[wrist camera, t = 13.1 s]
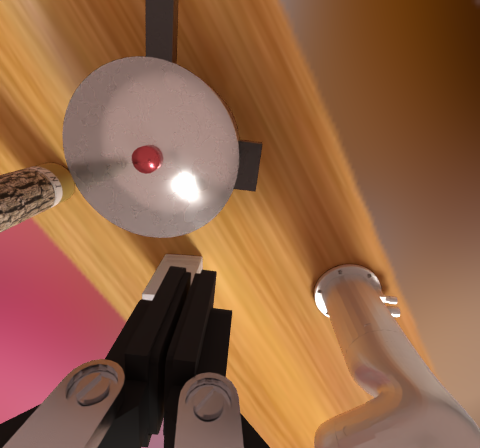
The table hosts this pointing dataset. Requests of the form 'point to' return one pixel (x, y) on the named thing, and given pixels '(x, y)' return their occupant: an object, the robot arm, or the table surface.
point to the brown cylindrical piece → (32, 192)
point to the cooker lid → (151, 146)
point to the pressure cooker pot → (165, 47)
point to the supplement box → (186, 261)
